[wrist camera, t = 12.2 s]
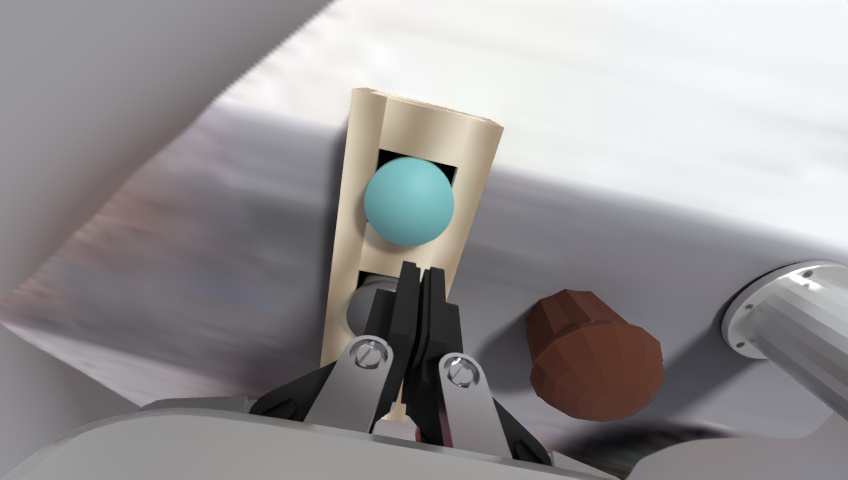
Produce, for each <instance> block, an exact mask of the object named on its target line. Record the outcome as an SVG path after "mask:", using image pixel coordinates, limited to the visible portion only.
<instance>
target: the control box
mask: <svg viewBox="0 0 848 480" xmlns="http://www.w3.org/2000/svg"><path fill="white" fill-rule="evenodd" d="M503 129H504V127H502V126H500V125H498V124H497V123H495V122H493V121H491V120H489V119H485V118H482V117H478V116H474V115H470V114H466V113H462V112H458V111H454V110H451V109H447V108H443V107H439V106H435V105H431V104H427V103H423V102H419V101H416V100H412V99H408V98H404V97H400V96H396V95H392V94H388V93H384V92H381V91H377V90H373V89H369V88H357V89H352V97H351V105H350V114H349V122H348V131H347V140H346V148H345V157H344V165H343V174H342V182H341V191H340V199H339V208H338V216H337V225H336V234H335V242H334V251H333V259H332V268H331V276H330V285H329V293H328V302H327V310H326V319H325V328H324V336H323V345H322V353H321V362H320V368H322V367H324V366H326V365H328V364H330V363H332V362H334V361H337V360H339V358H340V356H341V354H342V352H343V351H344V349H345V347H346V346H347V344H348V343H349V342H350V341H351V340H353V339H354V338H356V337H357V336H355V335H354V334H353V332H352V331H351V330H350V328H349V326H348V324H347V320H346V312H347V309H348V306H349V303H350V300H351V297H352V295H353V294H354V292H355V291H356V290H357V285H358V279H359V273H360V270H361V271H366V272H372V273H377V274H382V275H387V276H392V277H397V278H399V275H400V271H401V267H402V263H403V260H404V261H409V262H413V263H416V267H419V268H421V274H420V282H421V280H422V277H423V273H424V270H425V269H428V270H429V269H430V267H431V266H432V267H436V268H441V269H444V271H445V290H446V300H447V297H448V294H449V291H450V288H451V285H452V282H453V279H454V276H455V273H456V270H457V267H458V264H459V261H460V258H461V255H462V252H463V249H464V246H465V243H466V240H467V237H468V234H469V231H470V228H471V225H472V222H473V219H474V216H475V213H476V210H477V207H478V204H479V201H480V198H481V195H482V192H483V189H484V186H485V183H486V180H487V177H488V174H489V171H490V168H491V165H492V162H493V159H494V156H495V153H496V150H497V147H498V144H499V141H500V138H501V135H502V132H503ZM380 149H384V150H388V151H392V152H396V153H400V154H405V155H409V156H413V157H417V158H421V159H426V160H430V161H434V162H438V163H442V164H447V165H451V166H455V167H456V169H455V173H454V176H453V180H452V183H451V188H452V192H453V197H454V212H453V216H452V219H451V221H450V223H449V225H448V227H447V228H446V229H445V231H444V232H443V233H442V234H441V235H440V236H438V237H437V238H436V239H434V240H432V241H430V242H428V243H425V244H422V245H417V246H403V245H398V244H395V243H392V242H390V241H388V240H386V239H384V238H383V237H382V236H380V235H379V234H378V233H377V232H376V231H375V230H374V229H373V228H372V226H371V225H370V223H369V221H368V219H367V216H366V213H365V209H364V196H365V192H366V189H367V186H368V184H369V182H370V181H371V179H372V177H373V175H374V174H375V173H376V171H377V165H378V159H379V153H380ZM402 385H403V381H402V384H401V388H400V391H399V395H398V398H397V403H396V406H395V407H394V409H393V410H392V411H391V412H390V413H388V414H387V415H385V416H384V417H382V418H381V419H385V420H391V421H398V422H406V419H407V415H405V412H406V404H401V394H402Z"/></svg>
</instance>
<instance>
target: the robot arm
mask: <svg viewBox="0 0 848 480" xmlns="http://www.w3.org/2000/svg"><path fill="white" fill-rule="evenodd" d="M420 274H421V268H419V267H416V263H413V262H409V261H404V260H403V263H402V267H401V271H400V275H399V280H398V284H397V288H396V292H393V291H388V290H383V289H379V288H377V290H376V293H375V296H374V300H373V303H372V307H371V310H370V314H369V317H368V321H367V324H366V327H365V331H364V334H363V336H359V337H356V338H354V339H353V340H351V341H350V342H349V343H348V344H347V346H346V347H345V349H344V351H343V352H342V354H341V356H340V358H339V360H337V361H334V362H332V363H330V364H328V365H326V366H324V367H322V368H320V369H317V370H315V371H313V372H311V373H309V374H307V375H305V376H303V377H300V378H298V379H296V380H294V381H292V382H290V383H288V384H286V385H283V386H281V387H279V388H277V389H275V390H273V391H271V392H269V393H267V394H265V395H264V396H262V397H260V398H259V399H258V400H248V396H227V397H198V398H170V399H163V400H157V401H154V402H152V403H150V404H147V405H145V406H143V407H142V408H140V409H139V410H137V411H136V412H133V413H128V414H122V415H118V416H114V417H110V418H106V419H102V420H99V421H96V422H93V423H90V424H87V425H85V426H82V427H80V428H77V429H75V430H72V431H70V432H69V433H67V434H65V435H63V436H61V437H59V438H58V439H56V440H54V441H53V442H51V443H49V444H48V445H46V446H45V447H43V448H42V449H40V450H39V451H37V452H36V453H35V454H33V455H32V456H31V457H29V458H28V459H26V460H25V461H24V462H22V463H21V464H20V465H18V466H17V467H16V468H15V469H13V470H12V471H11V472H10V473H9V474H7V475H6V476H5V477H3V478H2V479H1V480H620V479H618V478H617V477H614V476H612V475H610V474H607V473H605V472H603V471H600V470H598V469H595V468H593V467H591V466H588V465H586V464H583V463H581V462H579V461H576V460H574V459H572V458H569V457H567V456H564V455H562V454H560V453H557V452H555V451H553V452H552V453H551V454H549V453H547V452H546V450H545V448H544V447H543V446H542V445H541V444H540V443H539V441H538V440H537V439H536V438H534V437H533V436H532V435H531V434H530V433H529V432H528V431H527V430H526V429H525V428H524V427H523V426H522V425H521V424H520V423H519V422H518V421H517V420H516V419H515V418H514V417H513V416H512V415H511V414H510V413H509V412H507V411H506V410H505V409H504V408H503V407H502V406H501V405H500V404H499V403H498V402H497V401H496V400H495V399H494V398H493V397H492V396H491V393H490V390H489V387H488V384H487V381H486V377H485V374H484V372H483V370H482V368H481V366H480V365H479V364H478V363H477V362H476V361H475V360H474V359H472V358H471V357H469V356H467V355H465V354H463V345H462V336H461V327H460V317H459V308H458V306H457V305H454V304H450V303H446V290H445V271H444V269H441V268H436V267H432V266H431V267H430V269H429V270H428V269H425V270H424V273H423V277H422V280H421V284H420ZM721 329H722V336H723V338H724V340H725V342H726V343H727V344H728V345H729V346H730V347H731V348H733V349H734V350H735V351H736V352H738V353H739V354H741V355H744V356H746V357H750V358H755V359H770V360H771V361H772V362H773V363H775V364H776V365H777V366H778V367H780V368H781V369H782V370H783V371H785V372H786V373H787V374H788V375H790V376H791V377H792V378H793V379H795V380H796V381H797V382H798V383H800V384H801V385H802V386H803V387H805V388H806V389H807V390H808V391H810V392H811V393H812V394H813V395H815V396H816V397H817V398H818V399H820V400H821V401H822V402H823V403H825V404H826V405H827V406H828V407H830V408H831V409H832V410H833V411H835V412H836V413H837V414H838V415H840V416H841V417H842V418H843V419H845V420H846V421H847V422H848V267H845V266H843V265H841V264H838V263H834V262H830V261H808V262H801V263H797V264H793V265H789V266H786V267H784V268H781V269H778V270H776V271H774V272H772V273H770V274H768V275H766V276H764V277H762V278H760V279H759V280H757V281H756V282H754V283H753V284H751V285H750V286H749V287H747V288H746V289H745V290H744V291H743V292H741V293H740V294H739V295H738V297H737V298H736V299H735V300H734V301H733V302H732V303H731V305H730V306H729V308H728V309H727V311H726V313H725V316H724V318H723V321H722V327H721ZM402 381H403V385H402V394H401V404H406V412H405V415H407V416H410V418H411V419H412V420H413V421H414V423H415V424H416V425H417V426H416V432H415V436H416V442H414V441H409V440H403V439H397V438H392V437H386V436H380V435H374V434H373V431H374V428H375V425H376V422H377V421H378V420H379V419H381V418H382V417H384V416H385V415H387V414H388V413H390V409H391V406H392V402H396V401H397V398H398V395H399V391H400V388H401V384H402Z"/></svg>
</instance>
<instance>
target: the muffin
mask: <svg viewBox="0 0 848 480" xmlns="http://www.w3.org/2000/svg"><path fill="white" fill-rule="evenodd" d="M526 321H527V326H528V332H527V337H528V343H529V348H530V353H531V358H532V363H533V368H532V372H531V376H530V381H531V383H532V386H533V388H534V390H535V392H536V394H537V396H539V397H540V398H542V399H543V400H544V401H545V402H546V403H547V404H549V405H551V406H553V407H554V408H556V409H558V410H560V411H561V412H563V413H565V414H567V415H568V416H570V417H572V418H577V419H583V420H590V421H598V422H606V421H614V420H620V419H623V418H626V417H628V416H631V415H634V414H635V413H637V412H638V411H639V410H641V409H642V408H643V407H645V406H646V405H647V404H648V403H649V402H651V401H652V399H653V398H654V396H655V395H656V393H657V391H658V389H659V388H660V386H661V384H662V382H663V378H664V369H663V364H662V362H663V359H662V353H661V348H660V342H659V341H657V340H656V339H655V338H654V337H653V336H651V335H650V334H649V333H648V332H646V331H645V330H644V329H643V328H640V327H637V326H634V325H631V324H628V323H627V322H626V321H625V320H624V319H623V318H621V317H620V316H619V315H618V314H617V313H615V312H614V311H613V310H612V309H611V308H610V307H608V306H607V305H606V304H605V303H604V302H602V301H601V300H600V299H599V298H598V297H597V296H595V295H594V294H593V293H592V292H591V291H573V290H567V289H564V290H562V291H560V292H558V293H556V294H554V295H552V296H549V297H546V298H543V299H540V300H539V302H538V303H537V305H536V307H535V308H534V310H533V311H532V312H531V313H530V314H529V315H528V316H527V317H526Z"/></svg>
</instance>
